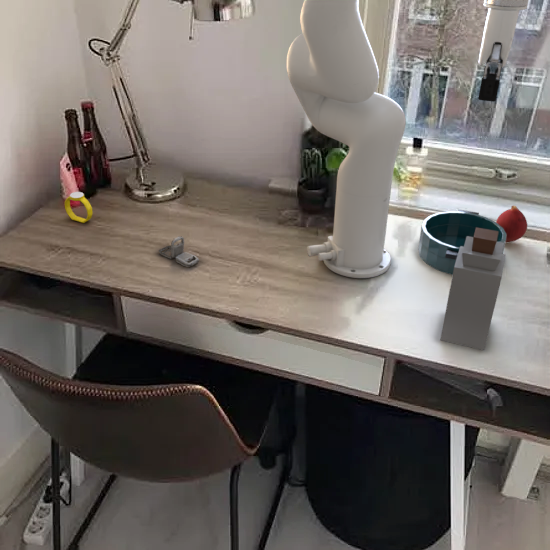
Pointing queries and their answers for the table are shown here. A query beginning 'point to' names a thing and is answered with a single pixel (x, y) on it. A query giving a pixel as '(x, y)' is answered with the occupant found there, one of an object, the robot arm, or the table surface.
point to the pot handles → (452, 253)
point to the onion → (513, 224)
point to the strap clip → (179, 253)
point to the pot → (451, 236)
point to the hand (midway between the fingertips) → (488, 93)
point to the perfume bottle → (474, 290)
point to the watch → (80, 197)
